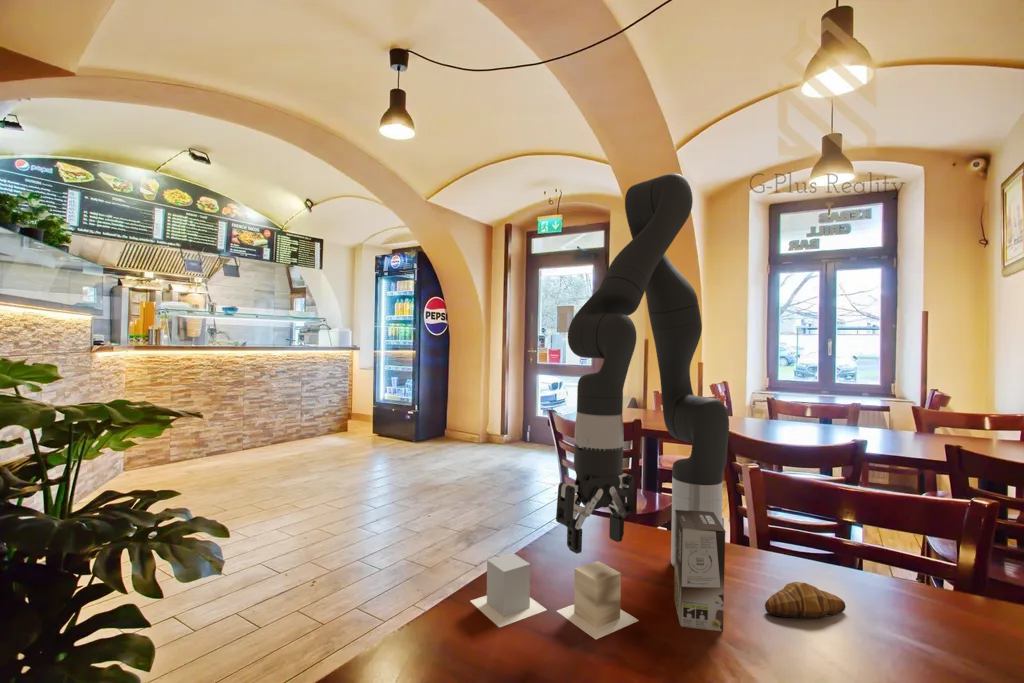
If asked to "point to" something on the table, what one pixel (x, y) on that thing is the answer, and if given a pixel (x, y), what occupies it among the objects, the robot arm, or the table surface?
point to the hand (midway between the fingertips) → (595, 545)
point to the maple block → (597, 593)
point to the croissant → (803, 602)
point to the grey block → (508, 584)
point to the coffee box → (699, 569)
